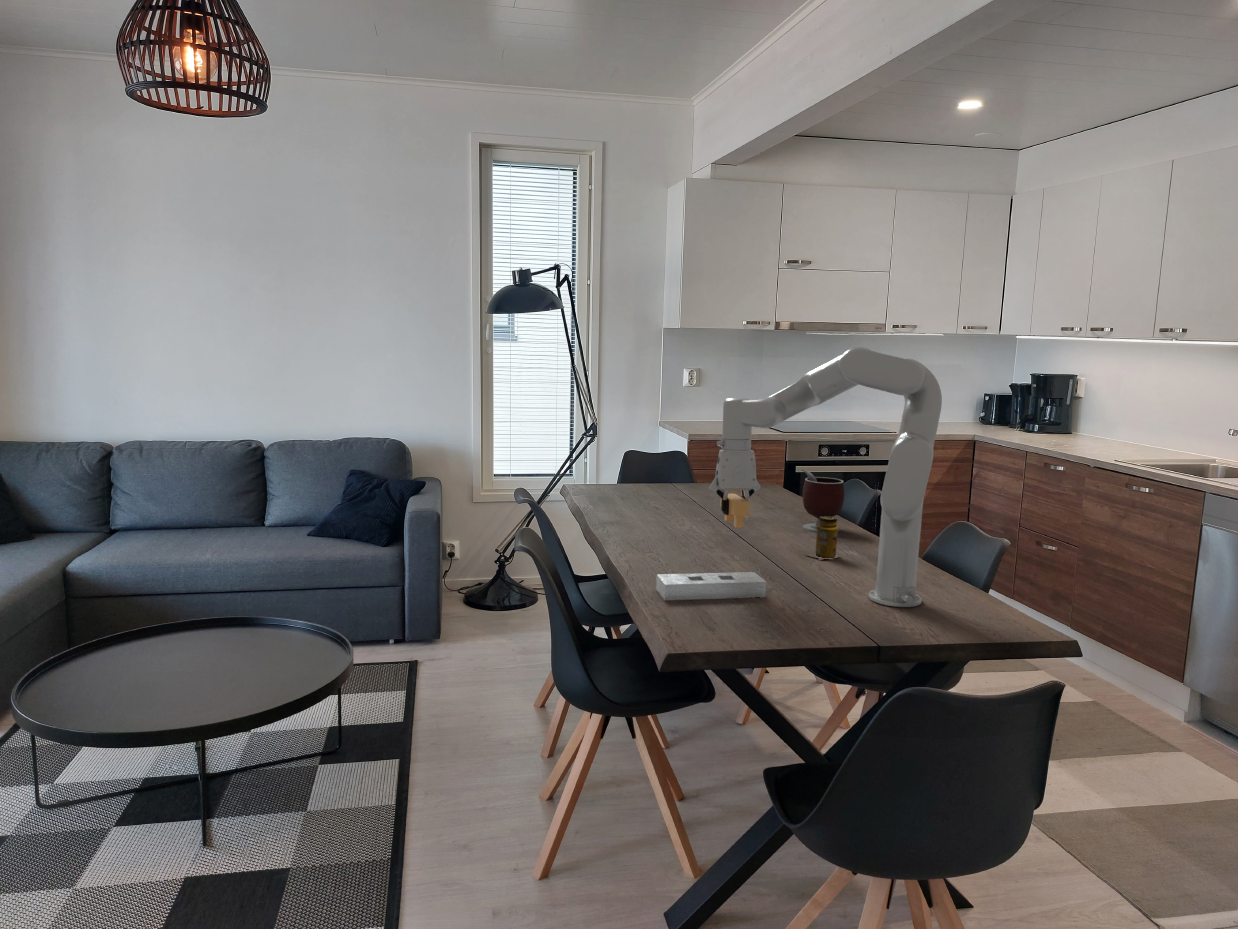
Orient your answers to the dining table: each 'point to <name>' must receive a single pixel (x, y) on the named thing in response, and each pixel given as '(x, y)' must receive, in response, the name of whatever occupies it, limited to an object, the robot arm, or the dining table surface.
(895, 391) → the robot arm
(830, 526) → the condiment
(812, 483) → the mate gourd
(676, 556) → the dining table surface
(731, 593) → the white flat block
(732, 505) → the tan wooden block
